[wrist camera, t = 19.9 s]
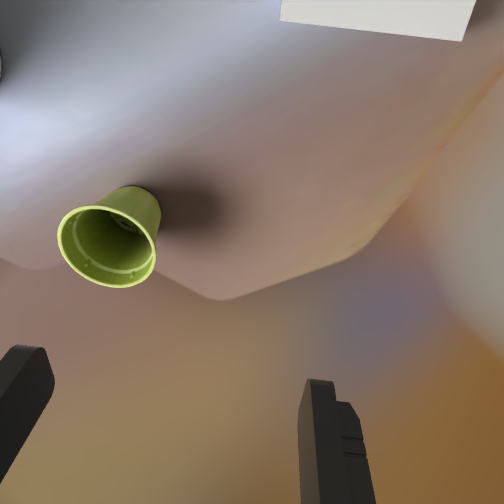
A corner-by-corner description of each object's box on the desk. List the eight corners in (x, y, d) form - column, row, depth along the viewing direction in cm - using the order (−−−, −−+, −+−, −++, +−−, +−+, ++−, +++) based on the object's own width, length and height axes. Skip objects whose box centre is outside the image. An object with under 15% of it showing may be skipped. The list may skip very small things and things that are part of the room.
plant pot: (113, 153, 39) (75, 186, 32) (190, 200, 41) (172, 241, 34) (84, 216, 44) (45, 258, 36) (155, 255, 46) (132, 301, 39)
